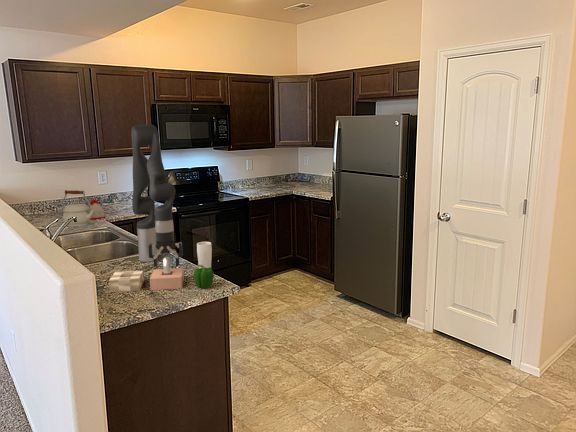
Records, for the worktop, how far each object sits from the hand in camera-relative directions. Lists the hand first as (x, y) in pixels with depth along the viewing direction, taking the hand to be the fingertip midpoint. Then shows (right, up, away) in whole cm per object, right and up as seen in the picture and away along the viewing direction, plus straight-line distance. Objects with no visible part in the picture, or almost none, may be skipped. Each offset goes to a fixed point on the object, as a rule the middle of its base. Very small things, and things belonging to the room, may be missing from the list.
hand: (166, 266), depth 194 cm
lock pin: (0, -8, +2) cm, 8 cm away
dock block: (0, -8, +2) cm, 8 cm away
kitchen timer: (-96, +20, +151) cm, 180 cm away
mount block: (-17, -9, -1) cm, 19 cm away
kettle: (-97, +15, +127) cm, 160 cm away
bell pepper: (+17, -9, -2) cm, 19 cm away
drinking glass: (+14, -6, +15) cm, 21 cm away
